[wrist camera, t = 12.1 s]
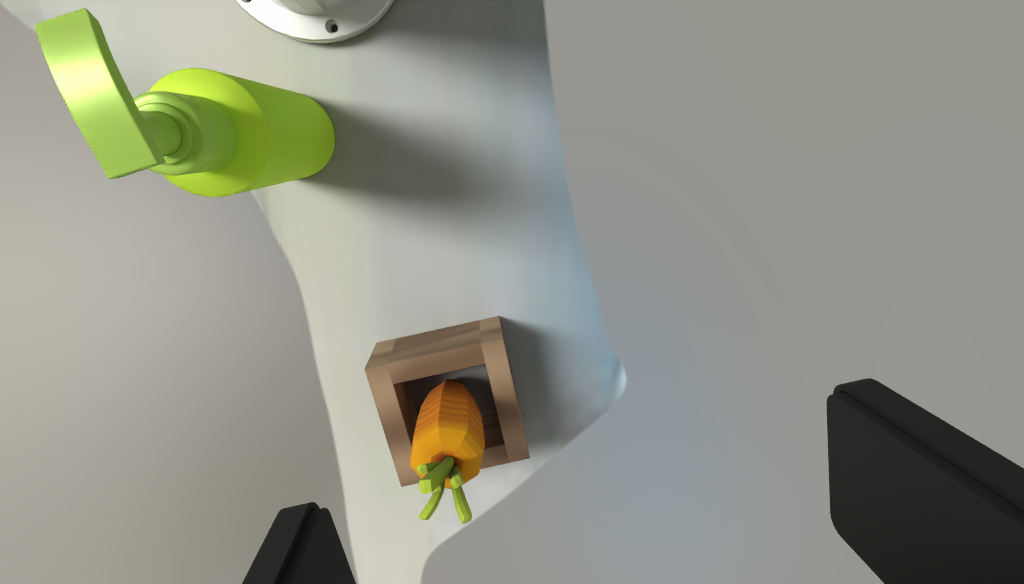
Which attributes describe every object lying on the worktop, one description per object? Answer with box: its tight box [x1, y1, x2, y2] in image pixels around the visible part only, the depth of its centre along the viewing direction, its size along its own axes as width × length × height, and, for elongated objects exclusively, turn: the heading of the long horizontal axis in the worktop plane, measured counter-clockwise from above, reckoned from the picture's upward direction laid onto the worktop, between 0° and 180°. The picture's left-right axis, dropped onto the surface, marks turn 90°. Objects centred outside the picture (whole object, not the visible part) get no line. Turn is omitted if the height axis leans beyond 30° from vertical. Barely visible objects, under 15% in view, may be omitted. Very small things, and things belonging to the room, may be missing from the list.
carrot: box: [410, 379, 485, 524], centre depth 37 cm, size 5×5×15 cm
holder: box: [365, 316, 530, 487], centre depth 42 cm, size 10×10×5 cm
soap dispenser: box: [35, 8, 335, 197], centre depth 28 cm, size 6×7×20 cm
